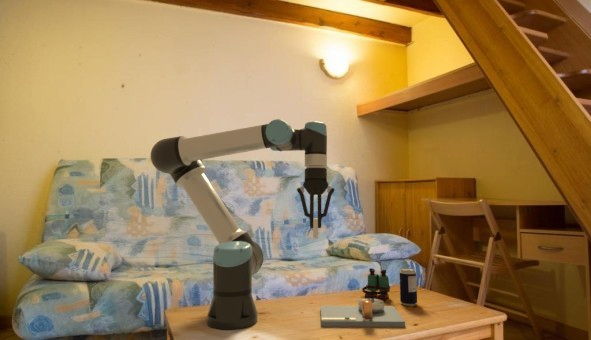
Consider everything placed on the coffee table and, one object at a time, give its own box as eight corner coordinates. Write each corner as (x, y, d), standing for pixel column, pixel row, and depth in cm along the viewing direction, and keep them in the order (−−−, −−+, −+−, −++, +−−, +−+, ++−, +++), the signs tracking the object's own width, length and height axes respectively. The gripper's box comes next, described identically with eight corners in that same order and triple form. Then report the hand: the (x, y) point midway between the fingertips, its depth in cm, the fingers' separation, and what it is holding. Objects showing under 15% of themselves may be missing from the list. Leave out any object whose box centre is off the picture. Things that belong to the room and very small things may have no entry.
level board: (321, 326, 111) (321, 319, 111) (320, 310, 127) (320, 303, 127) (405, 326, 110) (405, 319, 110) (393, 310, 126) (393, 304, 126)
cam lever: (360, 305, 127) (360, 289, 127) (385, 306, 124) (384, 291, 125) (352, 319, 112) (352, 301, 112) (380, 321, 110) (380, 303, 110)
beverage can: (415, 302, 136) (414, 268, 137) (418, 306, 131) (417, 270, 132) (399, 301, 137) (398, 267, 138) (401, 306, 131) (400, 270, 132)
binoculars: (358, 273, 140) (368, 266, 148) (360, 302, 140) (370, 293, 148) (382, 275, 135) (391, 268, 143) (384, 305, 135) (393, 296, 143)
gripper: (334, 168, 133) (334, 237, 131) (297, 168, 134) (297, 236, 132) (335, 166, 126) (335, 239, 124) (295, 166, 127) (295, 238, 125)
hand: (315, 237), depth 128 cm, fingers closed
